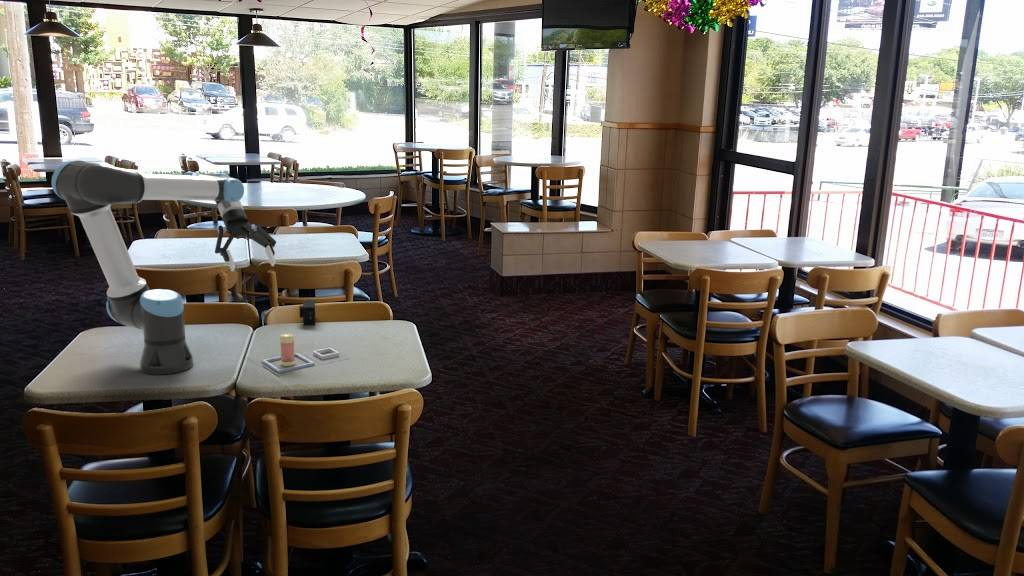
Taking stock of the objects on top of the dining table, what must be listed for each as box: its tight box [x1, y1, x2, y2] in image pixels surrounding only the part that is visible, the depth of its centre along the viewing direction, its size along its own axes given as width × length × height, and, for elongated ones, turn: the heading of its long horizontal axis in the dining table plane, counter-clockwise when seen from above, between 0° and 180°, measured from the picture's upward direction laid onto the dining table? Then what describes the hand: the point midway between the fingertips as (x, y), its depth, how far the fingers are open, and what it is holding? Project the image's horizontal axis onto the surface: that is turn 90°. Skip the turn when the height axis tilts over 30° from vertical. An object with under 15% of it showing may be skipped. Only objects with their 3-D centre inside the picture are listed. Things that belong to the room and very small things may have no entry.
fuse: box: [279, 333, 296, 367], centre depth 245 cm, size 4×4×10 cm
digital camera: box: [298, 299, 316, 326], centre depth 294 cm, size 10×5×7 cm, turn 13°
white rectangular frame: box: [301, 346, 351, 365], centre depth 254 cm, size 10×14×3 cm
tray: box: [261, 352, 315, 378], centre depth 246 cm, size 12×12×2 cm
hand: (254, 266), depth 258 cm, fingers open, 13 cm apart
